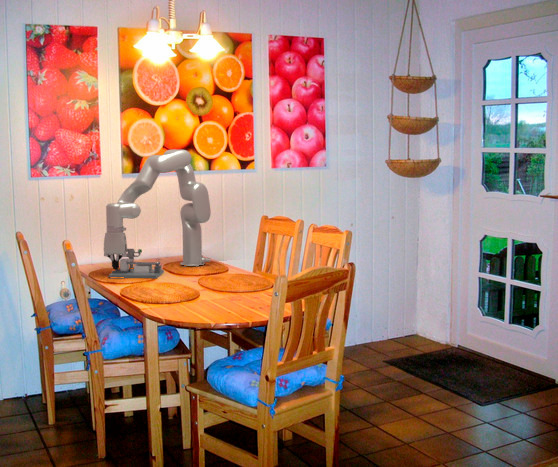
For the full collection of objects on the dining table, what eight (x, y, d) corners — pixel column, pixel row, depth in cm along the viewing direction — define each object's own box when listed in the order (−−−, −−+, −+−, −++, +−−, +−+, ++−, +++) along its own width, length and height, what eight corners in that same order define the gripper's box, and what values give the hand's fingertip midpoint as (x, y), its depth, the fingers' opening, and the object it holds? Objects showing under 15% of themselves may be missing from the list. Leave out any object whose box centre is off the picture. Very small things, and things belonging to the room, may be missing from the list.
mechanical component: (141, 269, 338) (140, 249, 337) (120, 269, 338) (119, 249, 337) (142, 268, 341) (142, 248, 340) (122, 268, 341) (121, 248, 340)
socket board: (164, 272, 330) (164, 263, 329) (156, 278, 314) (156, 268, 314) (118, 272, 331) (118, 262, 330) (108, 278, 315) (108, 268, 315)
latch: (134, 271, 324) (133, 258, 324) (131, 272, 320) (131, 259, 320) (122, 270, 325) (122, 258, 324) (120, 272, 321) (120, 259, 320)
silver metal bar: (160, 264, 323) (160, 261, 323) (158, 266, 320) (158, 262, 320) (129, 263, 324) (129, 260, 323) (127, 265, 321) (127, 261, 320)
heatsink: (152, 271, 326) (152, 263, 325) (148, 273, 319) (148, 266, 318) (137, 270, 326) (137, 263, 325) (133, 273, 319) (133, 266, 318)
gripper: (132, 229, 324) (133, 268, 326) (101, 228, 325) (102, 267, 327) (128, 231, 316) (129, 270, 318) (96, 230, 317) (97, 269, 319)
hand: (115, 268), depth 323 cm, fingers closed
